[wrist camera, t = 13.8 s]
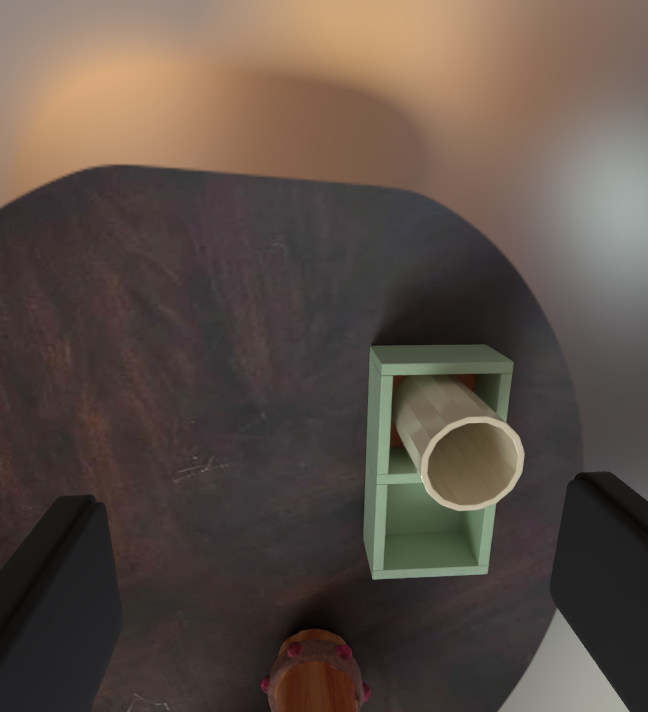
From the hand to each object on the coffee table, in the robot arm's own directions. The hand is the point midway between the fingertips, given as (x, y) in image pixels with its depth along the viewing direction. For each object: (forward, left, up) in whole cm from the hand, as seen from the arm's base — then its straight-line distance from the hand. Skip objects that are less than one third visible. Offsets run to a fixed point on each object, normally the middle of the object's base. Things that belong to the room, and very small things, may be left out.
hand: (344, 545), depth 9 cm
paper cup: (+7, +9, -24) cm, 27 cm away
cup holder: (+11, +9, -25) cm, 29 cm away
